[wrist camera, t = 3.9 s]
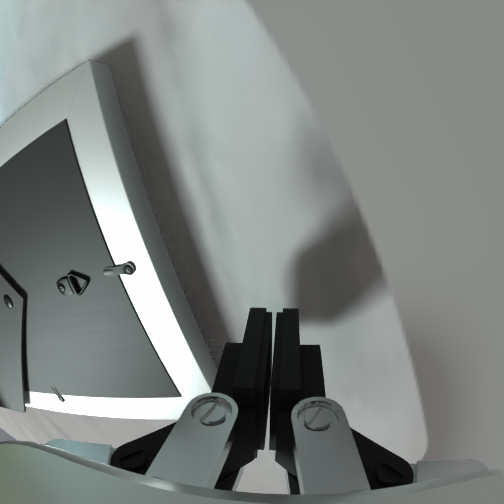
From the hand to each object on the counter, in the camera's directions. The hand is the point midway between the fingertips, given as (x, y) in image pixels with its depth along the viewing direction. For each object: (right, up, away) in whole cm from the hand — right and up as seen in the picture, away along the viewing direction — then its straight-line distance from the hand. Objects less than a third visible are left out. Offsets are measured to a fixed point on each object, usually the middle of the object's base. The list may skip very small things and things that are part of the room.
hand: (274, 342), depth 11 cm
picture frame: (-14, +1, +4) cm, 14 cm away
